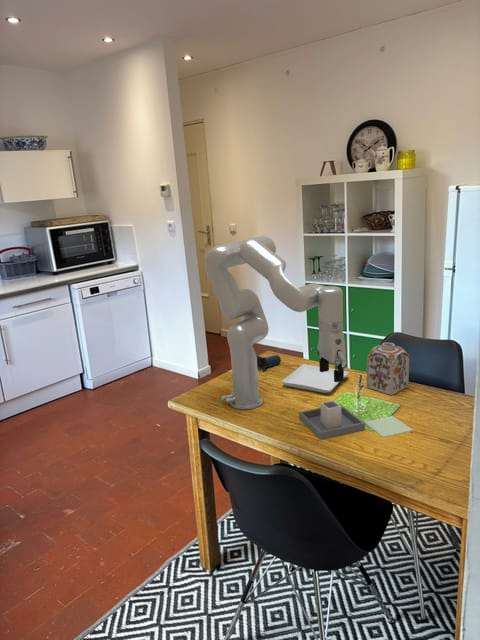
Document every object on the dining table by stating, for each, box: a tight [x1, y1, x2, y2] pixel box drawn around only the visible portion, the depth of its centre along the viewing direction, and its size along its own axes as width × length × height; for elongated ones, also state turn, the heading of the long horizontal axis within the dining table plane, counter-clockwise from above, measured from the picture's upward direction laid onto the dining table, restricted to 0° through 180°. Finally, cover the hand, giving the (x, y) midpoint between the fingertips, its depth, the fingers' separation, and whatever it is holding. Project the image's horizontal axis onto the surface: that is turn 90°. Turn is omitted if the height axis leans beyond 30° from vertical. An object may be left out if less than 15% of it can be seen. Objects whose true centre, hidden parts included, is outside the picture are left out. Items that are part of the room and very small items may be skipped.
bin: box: [298, 403, 366, 441], centre depth 164 cm, size 16×16×3 cm
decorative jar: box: [366, 341, 410, 396], centre depth 189 cm, size 12×12×18 cm
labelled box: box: [320, 400, 341, 429], centre depth 163 cm, size 5×5×7 cm
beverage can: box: [256, 354, 282, 372], centre depth 220 cm, size 9×8×12 cm
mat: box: [363, 415, 414, 438], centre depth 161 cm, size 11×11×1 cm
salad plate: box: [281, 363, 350, 394], centre depth 200 cm, size 21×21×3 cm
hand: (331, 376), depth 159 cm, fingers open, 9 cm apart
